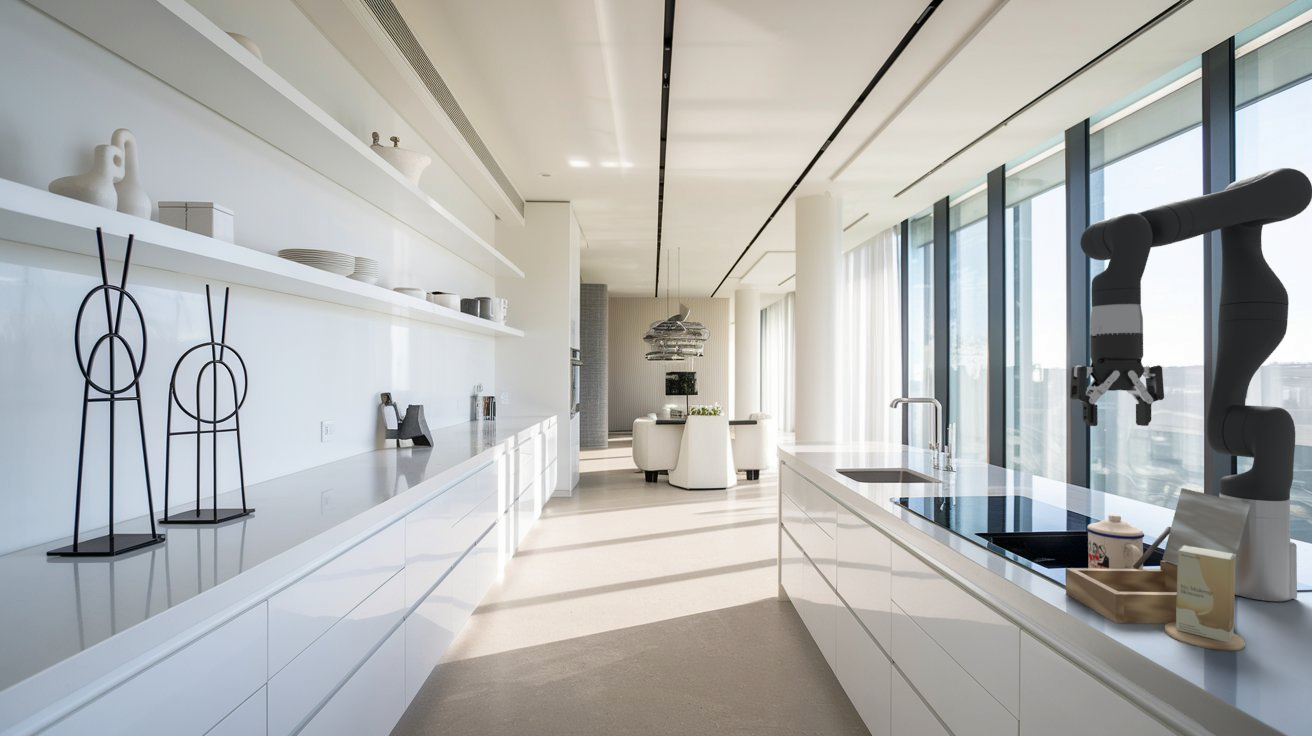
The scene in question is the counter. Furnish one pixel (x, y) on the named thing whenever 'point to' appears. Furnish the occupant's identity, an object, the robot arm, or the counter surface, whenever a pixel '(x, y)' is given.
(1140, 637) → the counter surface
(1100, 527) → the teacup with lid
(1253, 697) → the counter surface
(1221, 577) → the skincare box
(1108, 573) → the cold frame
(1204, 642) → the cork mat
